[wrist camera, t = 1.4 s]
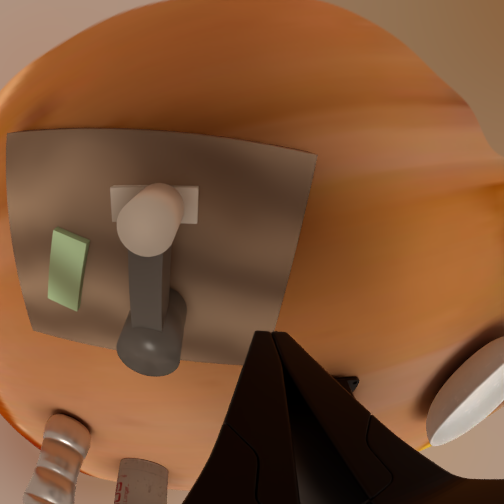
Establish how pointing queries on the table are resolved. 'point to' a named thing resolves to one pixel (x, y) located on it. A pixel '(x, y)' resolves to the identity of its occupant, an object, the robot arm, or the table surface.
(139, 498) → the thermos bottle
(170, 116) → the table surface
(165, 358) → the peg
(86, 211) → the board
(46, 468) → the plastic bottle
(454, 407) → the serving bowl
